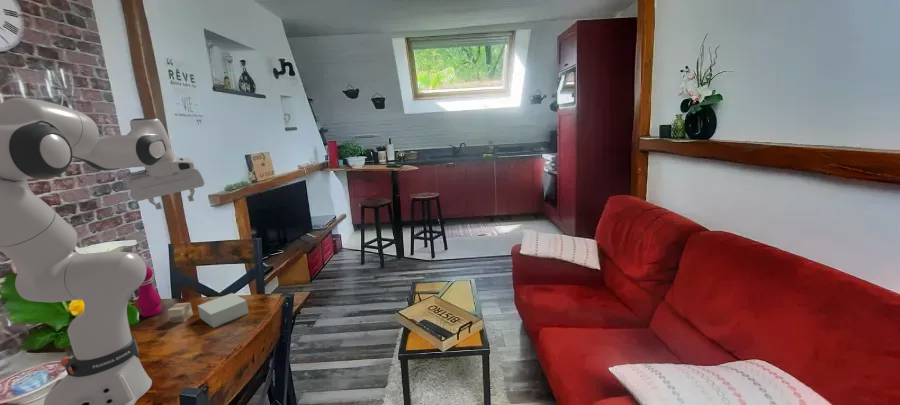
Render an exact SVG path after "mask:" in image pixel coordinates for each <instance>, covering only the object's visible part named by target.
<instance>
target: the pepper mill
mask: <svg viewBox="0 0 900 405" xmlns="http://www.w3.org/2000/svg"><path fill="white" fill-rule="evenodd" d="M152 276H153V269H151V267H149V266H146V277H145V279H144V281H143V283H142V284H141V285H140V287H139V288H138V298H137V299H136V301H137V303H136V305H137V308H139V309H140V314H141V316H142V317H146V318H147V317H152V316H155V315H157V314H159V313H161V312H162V311H163V308H162V305H161V302H162V296H161V295H160V294H159V293H158V292H157V291H156V289H155V288H154V286H153V282H154V280H153V277H152Z"/></svg>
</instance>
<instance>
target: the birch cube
mask: <svg viewBox="0 0 900 405" xmlns="http://www.w3.org/2000/svg"><path fill="white" fill-rule="evenodd" d="M192 308H193V307H192V303H191V302H182V303H181V302H180V303H179V302H178V303H175V304H174V305H172V306H171V307H170V308H169V309H167V314H168V319H169V322H170V323H184V322H186V321H187V320H188V319H190V318H191V317H192V316H193V315H194V313H193V309H192Z"/></svg>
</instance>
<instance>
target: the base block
mask: <svg viewBox="0 0 900 405" xmlns="http://www.w3.org/2000/svg"><path fill="white" fill-rule="evenodd" d="M248 307H249V306H248V302H247V300H246V299H244V298H243V297H241V296H239V295H237V294H235V293H234V292H231V293H228V294H225V295H222V296H220V297H218V298H215V299H211V300H209V301H206V302H203V303H201V304H199V305H197V310H198V314H199V318H200V319H201V320H202V321H204V323H206V324H208V325H209V326H210V327H212V328H213V329H214V328H216V327H217V328H218V327H219V326H222V325H223V324H226V323H228V322H231V321H233V320H236V319H238V318H240V317H242V316H245V315H248V314H249V313H250V312H249V308H248Z"/></svg>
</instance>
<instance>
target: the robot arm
mask: <svg viewBox="0 0 900 405" xmlns="http://www.w3.org/2000/svg"><path fill="white" fill-rule="evenodd" d="M129 126H130V131H129V132H128V133H127V134H126V135H125V134H122V135H121V134H120V135H100V131H99V129H98V126H97V124H96V122H95V121H94V120H93V119H92V118H91V117H89V116H88V115H86V114H84V113H83V112H81V111H79V110H76V109H74V108H71V107H67V106H64V105H62V104H61V105H60V104H59V103H58V104H57V103H54V102H52V101H51V102H50V101H46V100H41V99H35V98H28V97H27V98H26V97H14V98H12V97H11V98H9V99H7V100H4V101H3V102H1V103H0V252H1V253H2V254H4V255H5V256H6V257H7V258H9V259H10V260H11V261H13V263H15V264H16V265H17V266H18V267H19V271H18V272H17V274H16V277H15V282H14V287H15V290H16V292H17V293H18V295H19V296H20V297H21V298H22V299H24V300H26V301H30V302H37V303H38V302H39V303H40V302H41V303H62V302H69V301H70V302H71V301H80V300H81V301H82V302H83V304H84V309H83V312H82V313H80V314H78V316H75V318H74V319H72V321H71V322H70V323H69V326H68V328H67V335H68V339H69V342H70V346H71V349H72V353H73V356H72V357H71V356H64V357H63V358H61V360H60V361H59V362H60V364H61V366H62V367H63V368H65V370H66V373H67V374H66V375H65V376H64V377H63V378H62V379H61V380H60V381H59V382H58V383H57V384H56V385H55V386H54V387H53V388H52V389H51V390H50V391H48V393H47V395H46V396H45V399H44V400H43V405H135V404H136V403H137V401H138V400H139V399H140V398H142V397H143V396H144V395H145V394H146V393H147V392H148V391H149V389H150V388H151V387H152V383H153V380H152V378H150V376H149V375H148V374H147V372H146V370H145V368H144V367H143V365H142V363H141V360H140V358H139V357H140V355H139V348H138V344H137V340H136V339H135V338H134V336H133V335H132V333H131V328H130V324H129V323H130V322H129V318H128V303H129V301H130V298H131V296H132V295H133V294H134V292H135V291H136V290H138V289H139V287H140V285H141V284H142V283H143V281H144V279H145V277H146V267H147V265H146V262H145V261H144V259H143V258H142V257H141V256H140V255H139V254H137V253H135V252H128V251H118V250H117V251H116V250H112V251H99V252H89V253H88V252H87V253H78V252H75V251H74V250H75V248H76V247H77V245H78V233H77V231H76V229H75V228H74V227H72V226H71V225H70V224H69V223H68V222H67V221H66V220H65V219H64V218H63V217H62V216H61V215H60V214H59V213H58V212H57V211H55V210H54V209H53V208H52V207H51V206H50V205H48V203H47V202H45V201H44V200H42V199H41V198H40V197H38V196H37V195H36V194H34V193H33V191H32V189H31V187H30V185H29V183H28V180H33V179H37V180H38V179H39V180H43V179H47V178H53V177H56V176H58V175H61V174H64V173H65V172H66V171H67V170H68V169H69V167H70V166H71V163H72V160H73V159H77V160H79V161H83V162H84V163H85V164H87V165H88V166H90V167H92V168H93V169H96V170H98V171H110V170H116V169H126V168H127V169H128V168H131V169H132V168H143V167H144V169H142V170H138V171H135V172H134V171H132V172H129V173H128V174H126V175H125V176H124V178H123V179H124V182H125V185H127V186H128V187H129V188H130V192H131V197H132V199H133V200H134V201H136V202H141V201H145V200H148V202H149V203H150V204H152V205H154V207H155V209H156V210H161V209H162V205H161V202H156V201H155V198H158V197H163V196H166V195H167V196H168V195H171V194H175V193H180V192H184V191H189V192H190V193H189V195H187V199H188V202H194V201H195V199H194V195H195V192H196V191H195V189H198V188H202V187H204V186H205V185H206V184H205V180H204V178H203V176H202V174H201V172H200V171H199V169H198V168H197V167H196V165H195V164H194V163H195V162H194V161H193V159H191V158H189V157H180V156H179V157H177V156H176V155H175V153H174V152H173V150H172V148H171V140H170V138H169V135H168V133H167V130H166V129H165V126H164V124H163V123H162V122H161V120H160V119H159V118H157V117H145V118H144V117H143V118H133V119H131V120H130V121H129Z"/></svg>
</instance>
